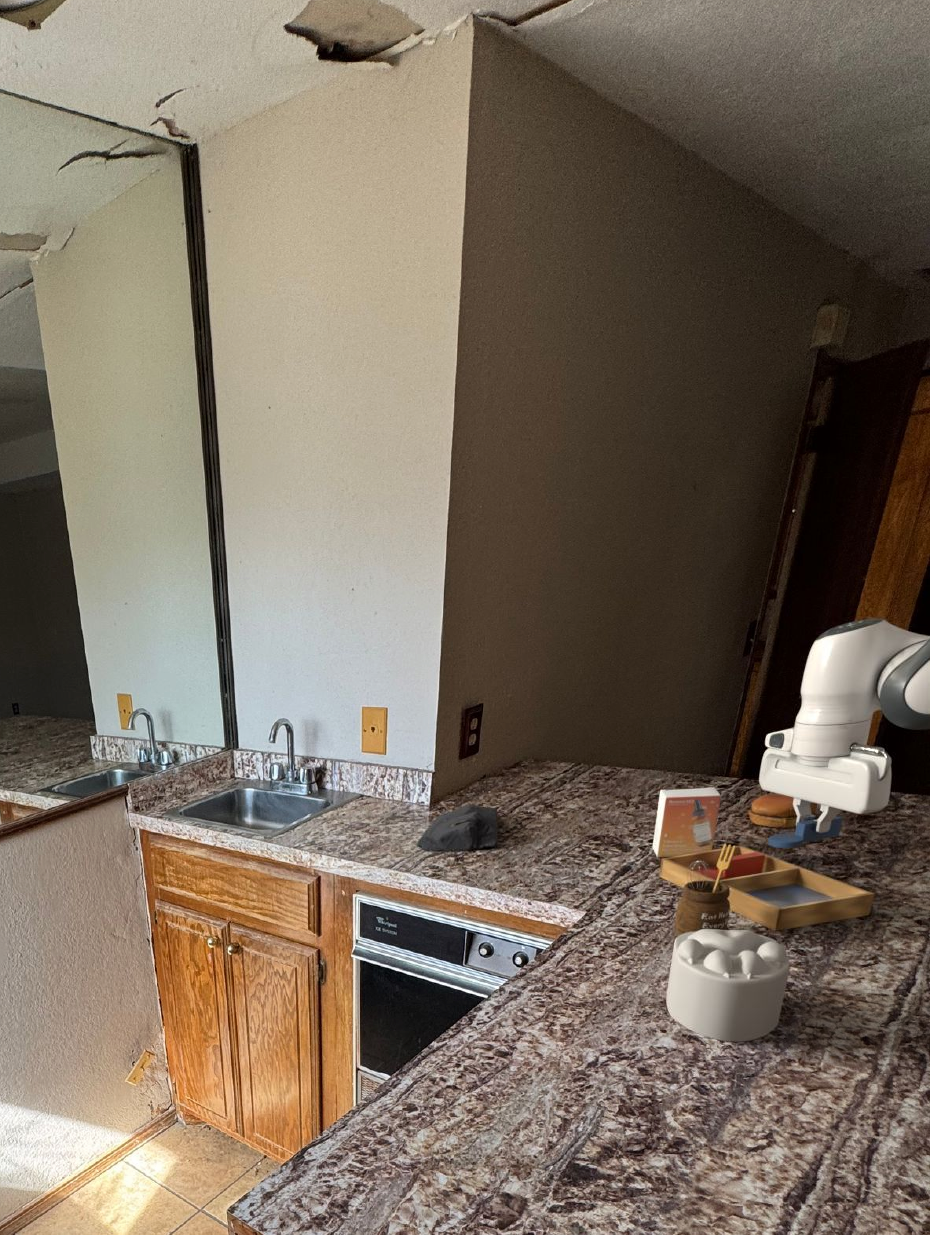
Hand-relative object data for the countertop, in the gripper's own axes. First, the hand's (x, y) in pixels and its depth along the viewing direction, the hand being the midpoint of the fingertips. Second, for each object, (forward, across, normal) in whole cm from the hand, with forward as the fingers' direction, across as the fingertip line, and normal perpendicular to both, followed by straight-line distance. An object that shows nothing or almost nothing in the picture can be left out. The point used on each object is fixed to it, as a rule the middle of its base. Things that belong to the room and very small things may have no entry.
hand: (811, 828), depth 122 cm
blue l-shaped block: (+2, 0, +1) cm, 2 cm away
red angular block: (+3, -4, +17) cm, 18 cm away
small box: (+4, +10, +14) cm, 18 cm away
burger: (+5, +17, -9) cm, 20 cm away
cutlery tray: (+4, -10, +16) cm, 20 cm away
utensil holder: (+4, -20, +32) cm, 38 cm away
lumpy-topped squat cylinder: (+4, -39, +42) cm, 58 cm away
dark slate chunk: (+4, +39, +40) cm, 56 cm away
